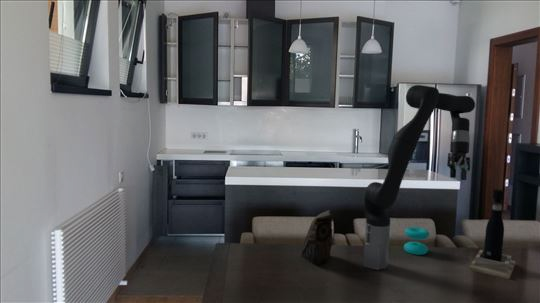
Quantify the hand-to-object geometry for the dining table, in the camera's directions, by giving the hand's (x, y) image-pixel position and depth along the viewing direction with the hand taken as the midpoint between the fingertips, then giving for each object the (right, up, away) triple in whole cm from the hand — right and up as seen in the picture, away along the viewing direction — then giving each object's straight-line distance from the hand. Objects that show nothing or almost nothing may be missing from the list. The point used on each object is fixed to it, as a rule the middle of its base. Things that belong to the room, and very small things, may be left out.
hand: (458, 178), depth 184 cm
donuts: (-17, -32, +3) cm, 37 cm away
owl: (-62, -33, -8) cm, 70 cm away
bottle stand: (+8, -35, -12) cm, 38 cm away
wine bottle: (+8, -33, -12) cm, 36 cm away
